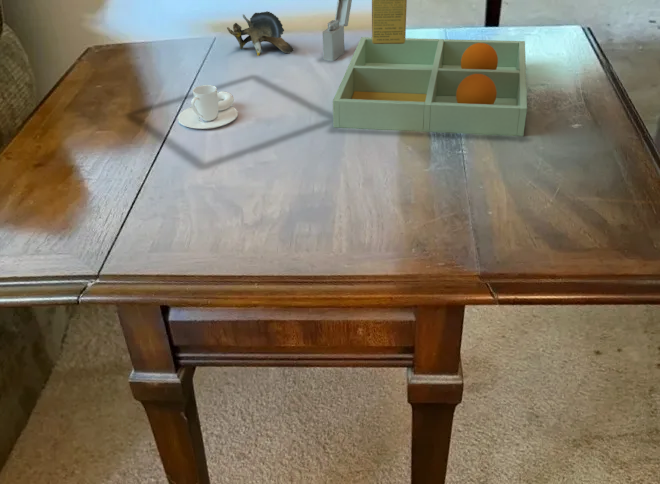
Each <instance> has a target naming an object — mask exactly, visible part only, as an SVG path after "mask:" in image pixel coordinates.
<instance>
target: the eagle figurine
mask: <svg viewBox="0 0 660 484" xmlns="http://www.w3.org/2000/svg"><path fill="white" fill-rule="evenodd" d="M242 18H243V19H244V20H245V22H246V23H247V26H248V27H247V28H244V29H242V26H241V25H240V24H238V22H234V24H233V25H232V29H233V30H232V29H230V27H229V26H227V27H226V29H227V31H228V33H229V34H230V35H232V36H233V37H235V39H236V41H237V42H238V44H239V49H240V50H243V49H244V46H245V45H246V44H247V43H249V42H252V45H253V46H254V48H255V52H256V56H257V57H259V56H260V55H261V53H262V42H264V43H265V42H266V43H270V44H271V45H273V46H274V47H276V48H277V49H279V50H280V51H281V52H282V53H284V54H291V53H293V52H294V51H295V49H294V48H293V47H292V45H291V44H290V43H289V42H288V41H286V40H285V39H284V38H283V37H282V35H283V34H284V32H285V29H284V28H283V24H282V22H281V20H280V19H279V17H278V16H277V15H275V14H274V13H273V12H271V11H268V10H267V11H260V12H254V13H253V14H252V16H251V17H250V18H249V19H248V18H247V17H246V14H244V13H243V14H242ZM246 35H247V36H246ZM242 36H246V37H244V39H243V37H242Z"/></svg>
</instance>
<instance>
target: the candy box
mask: <svg viewBox="0 0 660 484" xmlns="http://www.w3.org/2000/svg"><path fill="white" fill-rule="evenodd" d="M407 2H408V0H371V37H372V43H373V44H404V43H405V38H406V35H407V34H406V31H407V30H406V29H407Z"/></svg>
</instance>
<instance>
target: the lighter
mask: <svg viewBox="0 0 660 484" xmlns="http://www.w3.org/2000/svg"><path fill="white" fill-rule="evenodd" d="M352 3H353V0H337V2H336V8H335V14H334V15H335V16H334V19H332V20H330V21H329V22H328V23H327V28H326V29H324V30H323V31H322V49H323V50H322V51H323V52H322V53H323V57H322V58H323V61H328V62H334V61H336V60H337V59H338V58H340V57H341V56H343V54H345V27H348V26H349V20H350V15H351V8H352Z"/></svg>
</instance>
